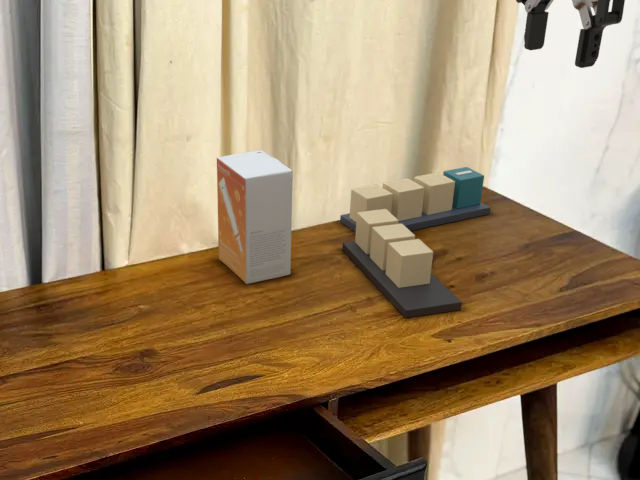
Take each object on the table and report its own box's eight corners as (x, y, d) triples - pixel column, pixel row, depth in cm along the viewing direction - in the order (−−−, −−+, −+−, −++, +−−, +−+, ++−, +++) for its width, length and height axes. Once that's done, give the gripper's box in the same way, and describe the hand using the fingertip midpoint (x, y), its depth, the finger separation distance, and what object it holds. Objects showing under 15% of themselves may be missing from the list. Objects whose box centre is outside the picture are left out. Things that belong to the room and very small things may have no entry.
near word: (342, 249, 127) (344, 211, 124) (392, 243, 129) (395, 205, 126) (405, 318, 112) (409, 277, 109) (461, 310, 114) (466, 269, 111)
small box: (217, 260, 124) (215, 156, 116) (262, 251, 127) (263, 148, 119) (245, 285, 119) (244, 177, 111) (291, 275, 121) (294, 169, 113)
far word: (459, 197, 141) (463, 162, 138) (489, 214, 137) (495, 178, 133) (339, 222, 134) (341, 185, 131) (367, 240, 129) (370, 203, 126)
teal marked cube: (480, 204, 137) (484, 174, 134) (456, 209, 135) (460, 179, 133) (463, 194, 140) (466, 165, 137) (439, 199, 138) (443, 170, 136)
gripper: (510, -122, 101) (490, 48, 111) (605, -108, 91) (574, 77, 101) (568, -127, 104) (544, 40, 114) (667, -114, 94) (630, 67, 104)
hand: (558, 57), depth 108 cm, fingers open, 8 cm apart
